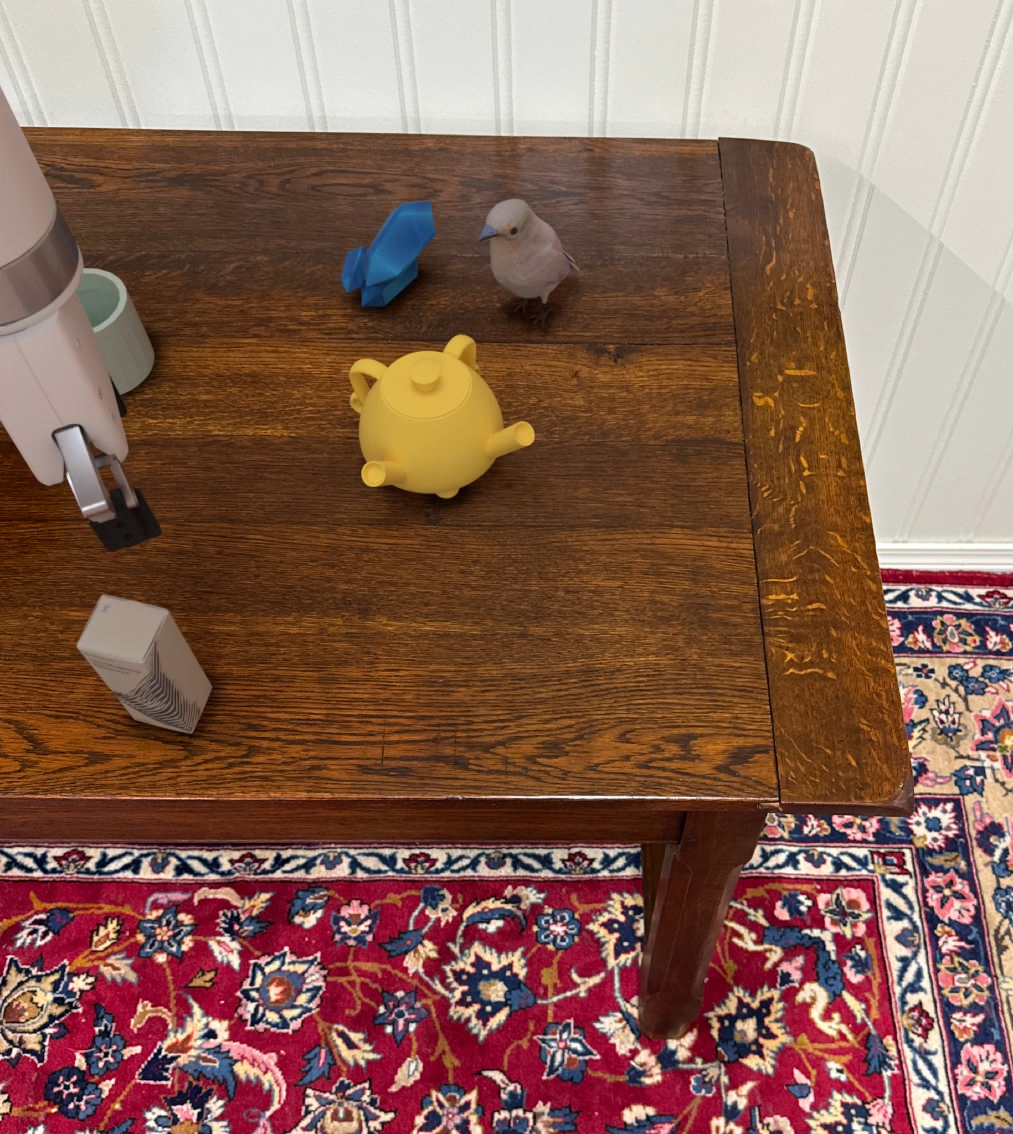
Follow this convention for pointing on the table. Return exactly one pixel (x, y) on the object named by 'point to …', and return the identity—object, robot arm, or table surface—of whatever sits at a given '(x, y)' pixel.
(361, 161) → the table surface
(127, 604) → the box
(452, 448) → the teapot
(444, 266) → the table surface
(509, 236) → the bird
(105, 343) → the jar
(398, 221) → the crystal
